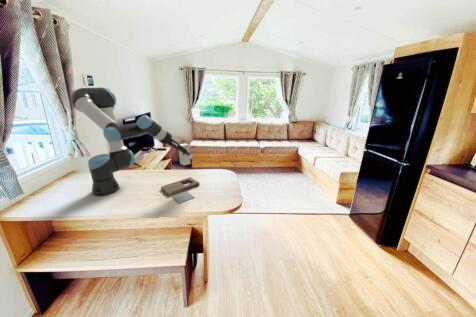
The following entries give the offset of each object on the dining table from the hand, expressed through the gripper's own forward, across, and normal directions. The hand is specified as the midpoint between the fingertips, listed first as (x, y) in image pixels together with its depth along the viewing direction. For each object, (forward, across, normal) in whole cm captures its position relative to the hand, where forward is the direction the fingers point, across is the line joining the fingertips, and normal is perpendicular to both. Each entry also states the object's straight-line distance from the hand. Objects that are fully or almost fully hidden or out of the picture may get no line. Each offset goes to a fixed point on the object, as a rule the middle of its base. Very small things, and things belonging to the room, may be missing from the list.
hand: (189, 156), depth 137 cm
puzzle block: (0, 0, -6) cm, 6 cm away
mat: (+5, +13, -24) cm, 28 cm away
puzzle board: (+8, 0, -20) cm, 22 cm away
